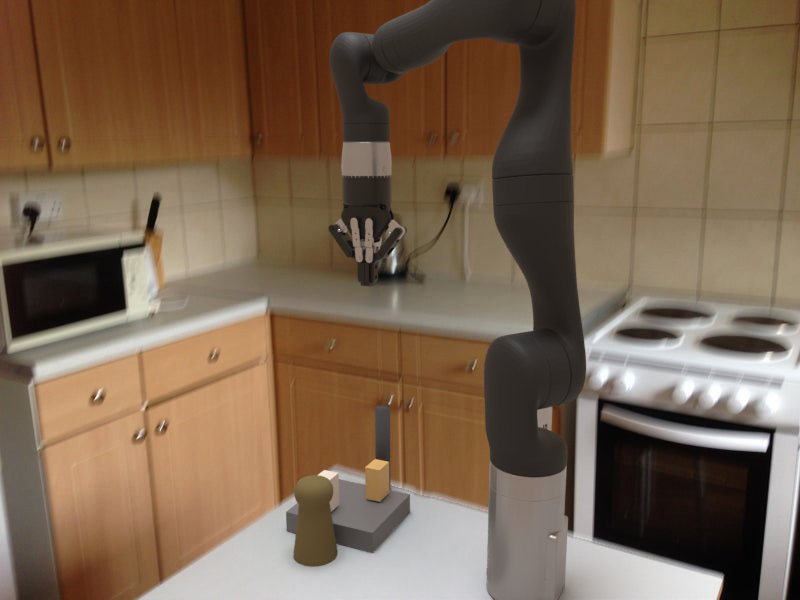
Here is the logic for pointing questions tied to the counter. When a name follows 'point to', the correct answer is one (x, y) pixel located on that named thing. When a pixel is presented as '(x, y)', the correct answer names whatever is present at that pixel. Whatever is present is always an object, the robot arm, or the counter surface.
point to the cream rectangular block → (335, 483)
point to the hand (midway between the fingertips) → (367, 285)
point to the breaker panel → (361, 516)
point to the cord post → (382, 435)
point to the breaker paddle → (377, 480)
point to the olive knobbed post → (314, 522)
